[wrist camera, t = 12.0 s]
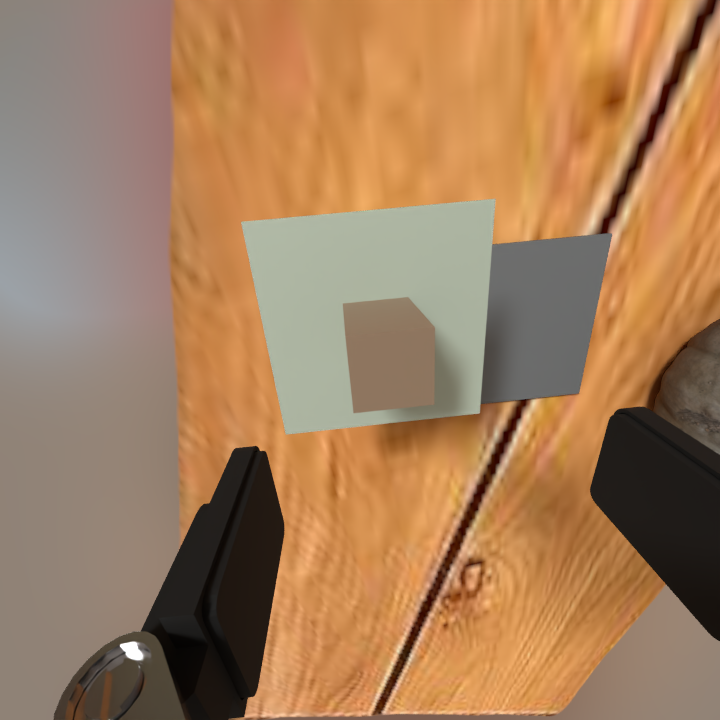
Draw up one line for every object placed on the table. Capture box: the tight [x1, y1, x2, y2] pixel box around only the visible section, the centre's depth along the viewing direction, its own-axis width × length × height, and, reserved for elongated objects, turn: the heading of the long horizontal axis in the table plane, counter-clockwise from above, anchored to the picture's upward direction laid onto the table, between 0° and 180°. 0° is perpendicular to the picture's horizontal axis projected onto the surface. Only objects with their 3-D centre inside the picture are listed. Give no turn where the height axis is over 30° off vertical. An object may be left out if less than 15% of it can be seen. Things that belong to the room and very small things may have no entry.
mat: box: [480, 233, 612, 404], centre depth 36 cm, size 18×18×1 cm
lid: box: [241, 199, 495, 434], centre depth 19 cm, size 14×14×7 cm
